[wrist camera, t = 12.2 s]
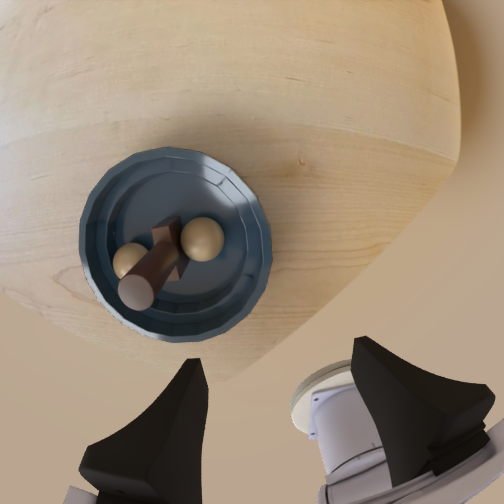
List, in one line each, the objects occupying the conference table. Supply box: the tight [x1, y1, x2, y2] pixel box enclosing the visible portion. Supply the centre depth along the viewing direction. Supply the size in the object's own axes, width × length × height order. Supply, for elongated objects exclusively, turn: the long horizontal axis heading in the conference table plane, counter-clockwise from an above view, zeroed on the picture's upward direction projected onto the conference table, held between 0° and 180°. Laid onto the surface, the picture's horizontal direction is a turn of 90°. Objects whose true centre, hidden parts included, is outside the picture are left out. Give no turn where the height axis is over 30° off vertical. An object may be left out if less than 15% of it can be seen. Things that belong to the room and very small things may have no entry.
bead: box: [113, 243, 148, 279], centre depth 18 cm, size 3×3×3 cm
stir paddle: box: [118, 216, 189, 311], centre depth 15 cm, size 4×2×9 cm, turn 7°
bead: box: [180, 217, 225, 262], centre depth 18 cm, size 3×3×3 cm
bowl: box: [79, 147, 273, 343], centre depth 18 cm, size 13×13×4 cm
